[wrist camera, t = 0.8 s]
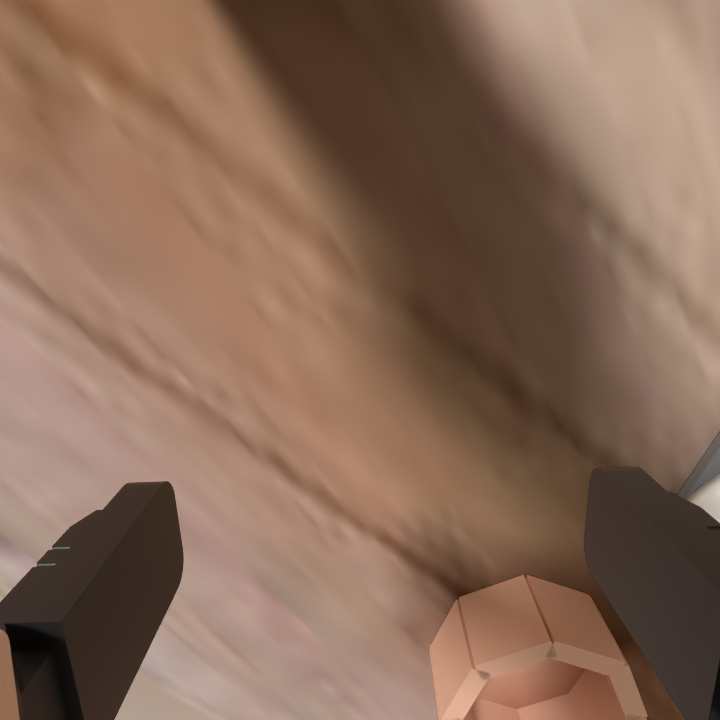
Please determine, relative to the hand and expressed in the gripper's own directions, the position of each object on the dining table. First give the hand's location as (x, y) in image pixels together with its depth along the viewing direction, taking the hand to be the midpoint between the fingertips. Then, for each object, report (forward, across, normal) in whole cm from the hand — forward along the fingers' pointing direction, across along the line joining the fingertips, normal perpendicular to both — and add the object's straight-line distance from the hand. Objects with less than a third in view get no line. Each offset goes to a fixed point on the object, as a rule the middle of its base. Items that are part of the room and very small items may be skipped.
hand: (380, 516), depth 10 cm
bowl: (+19, -10, +23) cm, 31 cm away
